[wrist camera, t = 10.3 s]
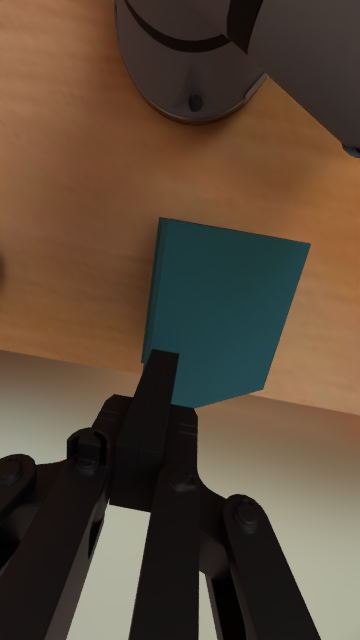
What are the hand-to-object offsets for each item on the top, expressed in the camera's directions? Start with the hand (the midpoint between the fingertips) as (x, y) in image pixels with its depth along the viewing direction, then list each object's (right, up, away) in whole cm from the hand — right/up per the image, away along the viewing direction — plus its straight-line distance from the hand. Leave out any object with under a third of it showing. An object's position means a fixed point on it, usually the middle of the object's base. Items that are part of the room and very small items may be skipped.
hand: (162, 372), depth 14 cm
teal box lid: (+5, +2, +8) cm, 10 cm away
